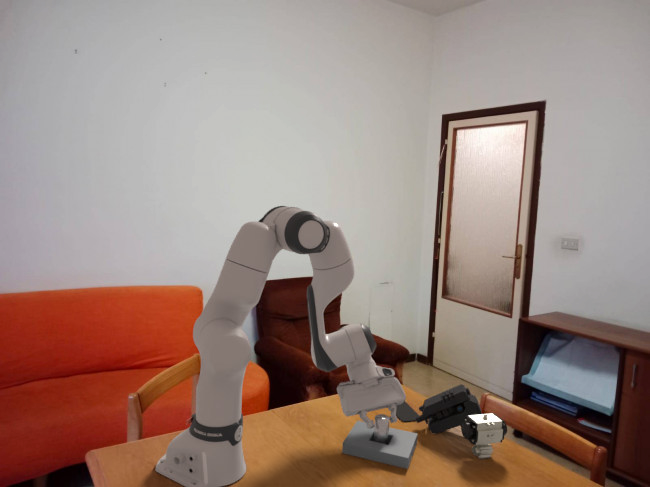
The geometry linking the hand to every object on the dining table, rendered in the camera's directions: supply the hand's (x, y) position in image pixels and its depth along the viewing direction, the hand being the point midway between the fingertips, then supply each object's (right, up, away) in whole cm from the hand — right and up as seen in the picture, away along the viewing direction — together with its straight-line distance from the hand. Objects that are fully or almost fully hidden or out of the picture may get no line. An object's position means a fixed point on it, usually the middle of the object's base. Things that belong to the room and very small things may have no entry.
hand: (383, 424), depth 133 cm
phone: (+9, -5, +25) cm, 28 cm away
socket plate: (-1, -7, +1) cm, 7 cm away
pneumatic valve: (+27, -9, 0) cm, 29 cm away
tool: (+22, -7, +12) cm, 26 cm away
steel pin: (-1, -7, +1) cm, 7 cm away
